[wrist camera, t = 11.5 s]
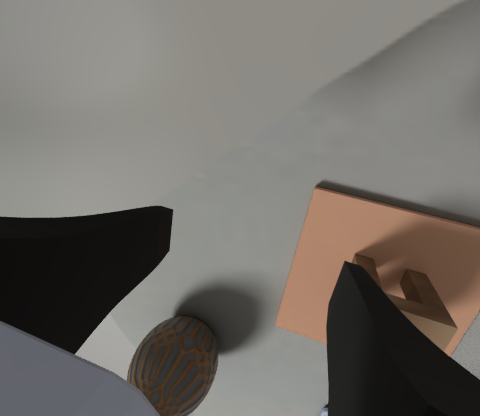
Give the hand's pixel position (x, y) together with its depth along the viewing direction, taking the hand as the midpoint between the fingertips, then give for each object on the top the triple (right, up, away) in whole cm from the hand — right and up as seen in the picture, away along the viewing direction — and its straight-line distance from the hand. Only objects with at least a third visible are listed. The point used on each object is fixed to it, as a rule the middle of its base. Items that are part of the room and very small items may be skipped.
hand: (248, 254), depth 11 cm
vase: (-5, -10, +16) cm, 19 cm away
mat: (+9, -4, +9) cm, 13 cm away
